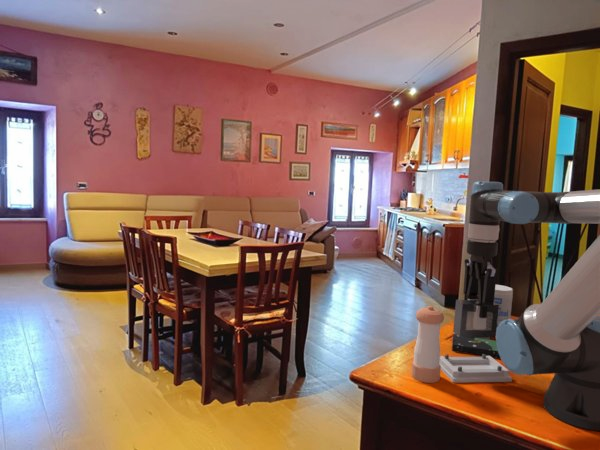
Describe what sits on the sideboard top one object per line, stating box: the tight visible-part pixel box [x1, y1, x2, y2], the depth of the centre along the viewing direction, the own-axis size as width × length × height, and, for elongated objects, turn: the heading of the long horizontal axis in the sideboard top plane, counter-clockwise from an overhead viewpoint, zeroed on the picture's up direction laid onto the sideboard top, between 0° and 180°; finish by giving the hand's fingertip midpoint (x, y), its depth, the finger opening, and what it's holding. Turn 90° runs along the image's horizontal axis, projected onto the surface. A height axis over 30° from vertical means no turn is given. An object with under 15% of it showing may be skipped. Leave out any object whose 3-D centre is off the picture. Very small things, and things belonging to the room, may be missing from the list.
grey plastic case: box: [452, 299, 499, 339], centre depth 122 cm, size 4×10×9 cm, turn 95°
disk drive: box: [451, 333, 501, 359], centre depth 140 cm, size 10×3×15 cm
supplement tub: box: [494, 284, 514, 331], centre depth 161 cm, size 10×10×15 cm
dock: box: [439, 354, 513, 384], centre depth 123 cm, size 12×16×3 cm
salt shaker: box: [411, 305, 445, 384], centre depth 119 cm, size 7×7×19 cm
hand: (475, 325), depth 122 cm, fingers closed on grey plastic case, 4 cm apart
